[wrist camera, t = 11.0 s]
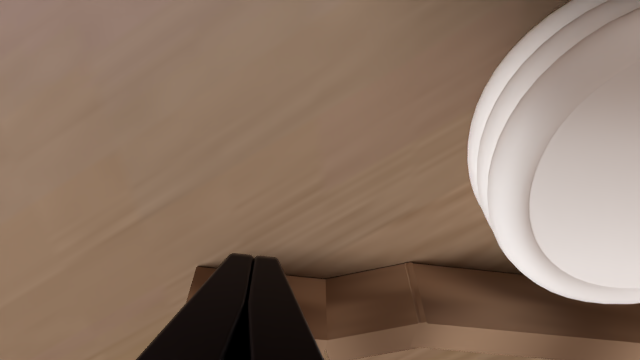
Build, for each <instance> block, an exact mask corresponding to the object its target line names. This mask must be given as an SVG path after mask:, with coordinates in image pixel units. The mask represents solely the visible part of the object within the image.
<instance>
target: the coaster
mask: <svg viewBox="0 0 640 360" xmlns="http://www.w3.org/2000/svg"><path fill="white" fill-rule="evenodd" d="M468 169H469V177H470V181H471V185H472V188H473V192H474V194H475V196H476V199H477V201H478V203H479V205H480V207H481V208H482V210H483V212H484V215H485V217H486V219H487V221H488V224H489V225H490V227H491V228H492V230H493V233H494V235H495V237H496V239H497V242H498V244H499V246H500V248H501V249H502V251H503V252H504V254H505V255H506V256H507V258H508V259H509V260H510V261H511V262H512V263H513V264H514V265H515V266H516V268H517V269H518V270H519V271H521V272H522V273H523V274H524V275H525V276H527V277H528V278H529V279H531V280H532V281H533V282H535V283H536V284H537V285H539V286H541V287H543V288H545V289H547V290H549V291H551V292H553V293H556V294H558V295H561V296H564V297H567V298H571V299H575V300H580V301H584V302H592V303H601V304H636V303H640V0H571V1H569V2H568V3H566V4H565V5H563V6H562V7H560V8H559V9H557V10H556V11H554V12H553V13H551V14H550V15H548V16H547V17H546V18H544V19H543V20H542V21H541V22H540V23H538V24H537V25H536V26H535V27H534V28H532V29H531V30H530V31H529V32H528V33H527V34H526V35H525V36H524V37H523V38H522V39H521V40H520V41H519V42H518V43H517V44H516V45H515V46H514V47H513V48H512V49H511V50H510V51H509V52H508V54H507V55H506V56H505V58H504V59H503V60H502V62H501V63H500V64H499V65H498V67H497V68H496V69H495V71H494V73H493V74H492V76H491V78H490V79H489V81H488V83H487V84H486V86H485V88H484V90H483V92H482V94H481V97H480V99H479V101H478V103H477V106H476V109H475V112H474V115H473V119H472V122H471V126H470V133H469V139H468Z"/></svg>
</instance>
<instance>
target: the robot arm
mask: <svg viewBox="0 0 640 360" xmlns="http://www.w3.org/2000/svg"><path fill="white" fill-rule="evenodd" d="M136 360H324V358H323V356H322V354H321V352H320V350H319V347H318V345H317V343H316V341H315V339H314V336H313V334H312V332H311V330H310V328H309V326H308V323H307V321H306V319H305V317H304V315H303V312H302V310H301V308H300V306H299V304H298V302H297V299H296V297H295V295H294V293H293V291H292V288H291V286H290V284H289V282H288V280H287V278H286V275H285V273H284V271H283V269H282V267H281V264H280V262H279V260H278V259H277V258H275V257H266V256H256V257H255V258H253V256H252V255H247V254H237V253H232V254H230V255H229V256H228V257H227V258H226V259H225V260H224V262H223V263H222V264H221V265H220V266H219V267H218V268H217V269H216V270H215V272H214V273H213V274H212V275H211V276H210V277H209V278H208V279H207V281H206V282H205V283H204V284H203V285H202V286H201V287H200V288H199V290H198V291H197V292H196V293H195V294H194V295H193V296H192V297H191V299H190V300H189V301H188V302H187V303H186V304H185V305H184V306H183V307H182V309H181V310H180V311H179V312H178V313H177V314H176V315H175V316H174V318H173V319H172V320H171V321H170V322H169V323H168V324H167V325H166V327H165V328H164V329H163V330H162V331H161V332H160V333H159V334H158V336H157V337H156V338H155V339H154V340H153V341H152V342H151V343H150V344H149V346H148V347H147V348H146V349H145V350H144V351H143V352H142V353H141V355H140V356H139V357H138V358H137V359H136Z"/></svg>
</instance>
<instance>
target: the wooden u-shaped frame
mask: <svg viewBox="0 0 640 360" xmlns="http://www.w3.org/2000/svg"><path fill="white" fill-rule="evenodd" d="M215 270H216V269H215V268H205V267H196V271H195V274H194V278H193V281H192V284H191V288H190V291H189V295H188V298H187V301H186V303H187V302H188V301H189V300H190V299H191V297H192V296H193V295H194V294H195V293H196V292H197V291H198V290H199V288H200V287H201V286H202V285H203V284H204V283H205V282H206V281H207V279H208V278H209V277H210V276H211V275H212V274H213V273H214V272H215ZM286 278H287V280H288V282H289V284H290V286H291V288H292V291H293V293H294V295H295V297H296V299H297V302H298V304H299V306H300V308H301V310H302V312H303V315H304V317H305V319H306V321H307V323H308V326H309V328H310V330H311V332H312V334H313V336H314V339H315V341H316V343H317V345H318V347H319V350H320V352H321V354H322V356H323V357H324V353H325V350H326V353H327V355H328V358H329V360H353V359H359V358H364V357H370V356H376V355H381V354H387V353H392V352H398V351H404V350H409V349H415V348H430V349H442V350H453V351H464V352H476V353H487V354H498V355H509V356H521V357H532V358H543V359H554V360H640V303H636V304H601V303H592V302H584V301H580V300H575V299H571V298H567V297H564V296H561V295H558V294H556V293H553V292H551V291H549V290H547V289H545V288H543V287H541V286H539V285H537V284H536V283H535V282H533V281H532V280H531V279H529V278H528V277H527V276H525V275H520V274H510V273H501V272H491V271H481V270H471V269H462V268H452V267H442V266H432V265H423V264H413V263H412V262H410V263H405V264H400V265H395V266H390V267H385V268H380V269H375V270H370V271H365V272H360V273H355V274H350V275H345V276H340V277H335V278H330V279H317V278H307V277H296V276H286Z"/></svg>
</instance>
